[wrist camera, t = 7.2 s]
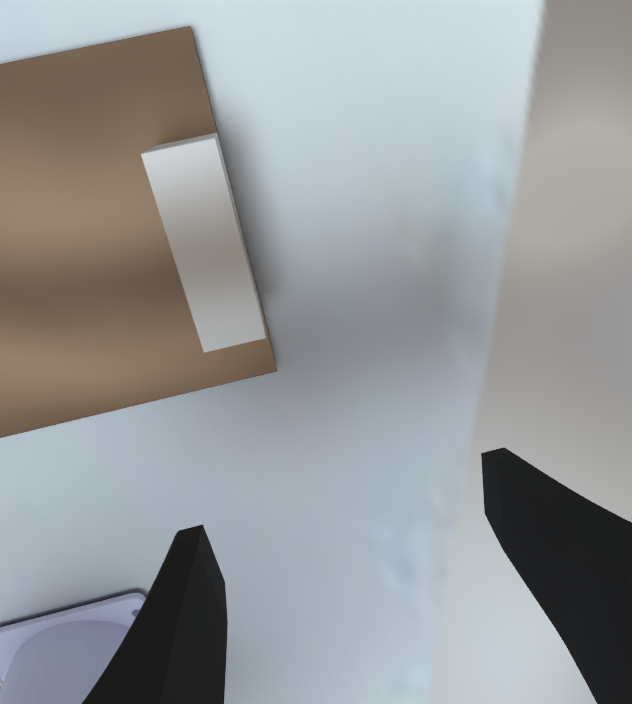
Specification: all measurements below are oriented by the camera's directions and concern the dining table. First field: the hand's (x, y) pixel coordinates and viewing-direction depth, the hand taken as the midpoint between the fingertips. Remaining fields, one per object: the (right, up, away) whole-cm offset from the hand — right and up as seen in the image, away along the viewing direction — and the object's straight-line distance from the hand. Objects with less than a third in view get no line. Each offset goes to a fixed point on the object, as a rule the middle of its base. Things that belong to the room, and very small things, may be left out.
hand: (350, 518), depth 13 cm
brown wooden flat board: (-14, +6, +5) cm, 16 cm away
